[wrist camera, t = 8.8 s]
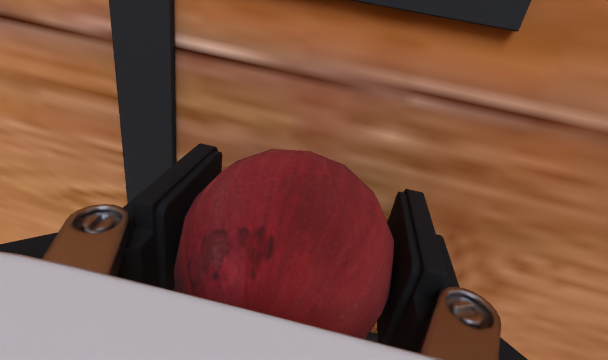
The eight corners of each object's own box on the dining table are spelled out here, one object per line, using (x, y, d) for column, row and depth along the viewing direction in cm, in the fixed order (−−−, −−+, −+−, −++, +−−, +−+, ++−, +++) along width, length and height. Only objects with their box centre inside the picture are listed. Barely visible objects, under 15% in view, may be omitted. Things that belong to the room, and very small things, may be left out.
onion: (218, 223, 14) (75, 435, 7) (252, 92, 12) (76, 225, 4) (350, 272, 14) (335, 529, 7) (414, 152, 12) (490, 377, 5)
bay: (103, -131, 9) (95, -134, 9) (549, -55, 9) (556, -57, 8) (140, 304, 17) (136, 308, 17) (374, 363, 17) (375, 369, 16)
